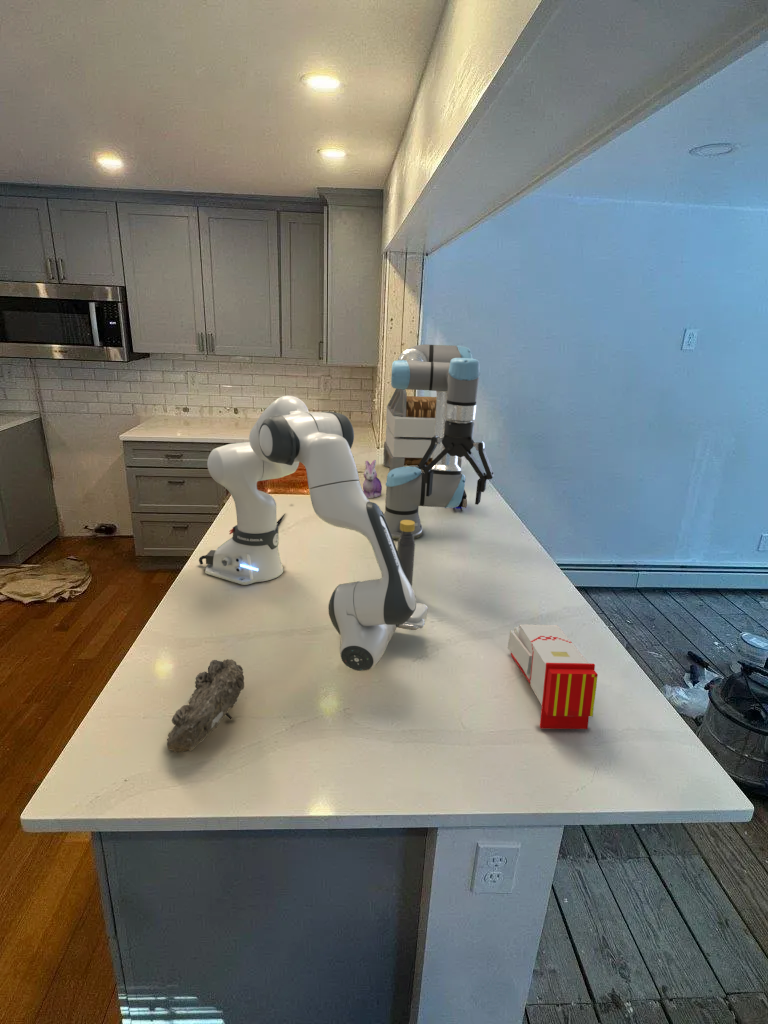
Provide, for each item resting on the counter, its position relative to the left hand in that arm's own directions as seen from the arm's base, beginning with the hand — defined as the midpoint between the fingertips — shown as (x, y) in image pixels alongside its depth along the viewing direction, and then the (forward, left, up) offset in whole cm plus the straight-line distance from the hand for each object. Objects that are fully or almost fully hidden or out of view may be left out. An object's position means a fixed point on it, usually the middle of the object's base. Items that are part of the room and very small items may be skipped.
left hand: (392, 594), depth 144 cm
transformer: (-22, +136, -6) cm, 138 cm away
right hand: (+10, +20, +21) cm, 31 cm away
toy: (+38, -17, -6) cm, 42 cm away
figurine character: (+3, +92, -7) cm, 93 cm away
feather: (-56, +56, -7) cm, 80 cm away
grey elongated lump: (-23, -48, -6) cm, 53 cm away
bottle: (0, +12, -7) cm, 14 cm away
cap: (0, +12, +15) cm, 19 cm away
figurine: (-34, +94, -6) cm, 100 cm away
